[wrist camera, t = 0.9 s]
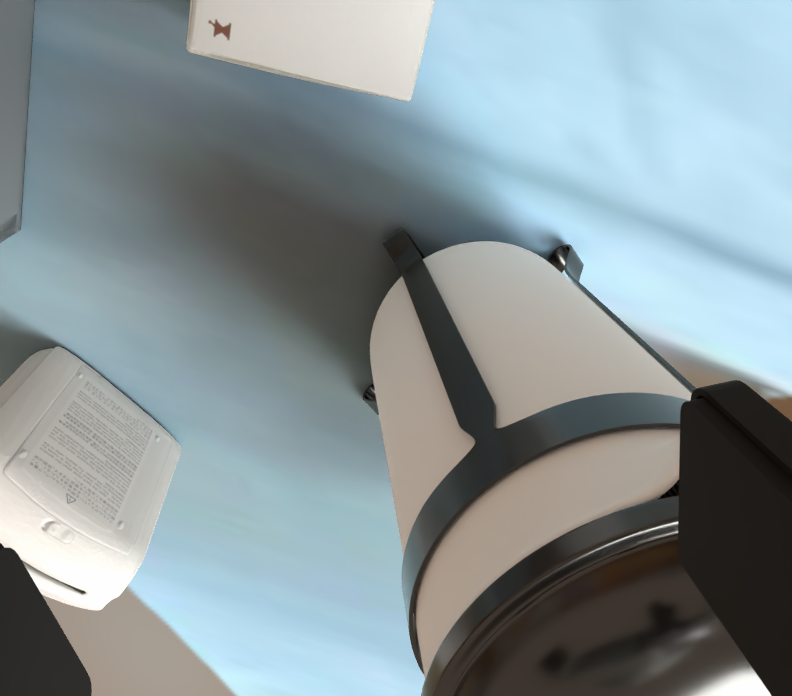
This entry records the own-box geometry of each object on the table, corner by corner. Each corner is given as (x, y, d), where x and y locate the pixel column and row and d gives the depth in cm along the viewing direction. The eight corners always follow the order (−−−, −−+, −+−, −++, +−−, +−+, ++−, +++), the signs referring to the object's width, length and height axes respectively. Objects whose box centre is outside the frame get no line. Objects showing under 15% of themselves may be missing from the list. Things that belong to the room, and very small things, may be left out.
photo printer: (3, 377, 37) (-132, 522, 26) (54, 330, 36) (-62, 459, 25) (145, 485, 41) (82, 651, 30) (194, 445, 40) (148, 600, 29)
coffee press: (272, 309, 37) (159, 1044, 10) (517, 146, 35) (1245, 518, 8) (431, 504, 44) (617, 1241, 17) (642, 380, 42) (1248, 1003, 15)
